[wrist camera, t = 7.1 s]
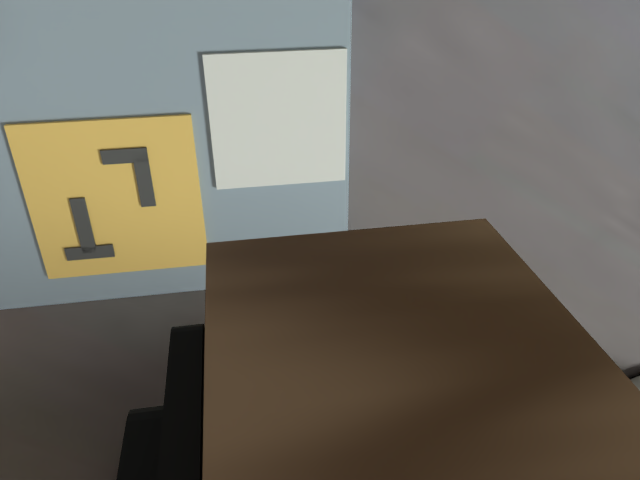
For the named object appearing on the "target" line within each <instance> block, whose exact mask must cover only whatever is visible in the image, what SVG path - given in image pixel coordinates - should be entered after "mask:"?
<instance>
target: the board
mask: <svg viewBox="0 0 640 480" xmlns="http://www.w3.org/2000/svg"><path fill="white" fill-rule="evenodd" d="M351 27H352V0H0V310H3V309H13V308H23V307H33V306H44V305H54V304H64V303H74V302H85V301H95V300H105V299H116V298H126V297H136V296H146V295H157V294H167V293H177V292H187V291H198V290H206V243H211V242H223V241H234V240H246V239H257V238H269V237H280V236H292V235H303V234H315V233H326V232H337V231H348V193H349V138H350V83H351Z"/></svg>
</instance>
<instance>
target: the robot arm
mask: <svg viewBox="0 0 640 480" xmlns="http://www.w3.org/2000/svg"><path fill="white" fill-rule="evenodd" d="M204 355H205V327H204V324H198V325H188V326H179V327H172V329H171V336H170V346H169V357H168V367H167V377H166V388H165V398H164V406H157V407H149V408H141V409H133V410H130V412H129V413H128V417H127V421H126V427H125V433H124V439H123V445H122V451H121V457H120V463H119V469H118V475H117V480H202V479H203V417H204ZM630 380H631V381H632V383H633V384H634V385H635V386H636V387H637V388H638V389H639V390H640V376H637V377H635V378H633V379H630Z"/></svg>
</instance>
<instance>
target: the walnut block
mask: <svg viewBox="0 0 640 480" xmlns="http://www.w3.org/2000/svg"><path fill="white" fill-rule="evenodd" d="M202 480H640V390H639V389H638V388H637V387H636V386H635V385H634V384H633V383H632V381H631V380H630V379H629V378H628V377H627V376H626V375H625V374H624V373H623V371H622V370H621V369H620V368H619V367H618V366H617V365H616V364H615V362H614V361H613V360H612V359H611V358H610V357H609V356H608V355H607V354H606V352H605V351H604V350H603V349H602V348H601V347H600V346H599V345H598V344H597V342H596V341H595V340H594V339H593V338H592V337H591V336H590V335H589V333H588V332H587V331H586V330H585V329H584V328H583V327H582V326H581V325H580V323H579V322H578V321H577V320H576V319H575V318H574V317H573V316H572V315H571V313H570V312H569V311H568V310H567V309H566V308H565V307H564V306H563V304H562V303H561V302H560V301H559V300H558V299H557V298H556V297H555V296H554V294H553V293H552V292H551V291H550V290H549V289H548V288H547V287H546V286H545V284H544V283H543V282H542V281H541V280H540V279H539V278H538V277H537V275H536V274H535V273H534V272H533V271H532V270H531V269H530V268H529V267H528V265H527V264H526V263H525V262H524V261H523V260H522V259H521V258H520V257H519V255H518V254H517V253H516V252H515V251H514V250H513V249H512V248H511V247H510V245H509V244H508V243H507V242H506V241H505V240H504V239H503V238H502V236H501V235H500V234H499V233H498V232H497V231H496V230H495V229H494V228H493V226H492V225H491V224H490V223H489V222H488V221H487V220H486V219H475V220H463V221H452V222H440V223H429V224H418V225H406V226H395V227H383V228H372V229H360V230H349V231H337V232H326V233H315V234H303V235H292V236H280V237H269V238H257V239H246V240H234V241H223V242H211V243H206V293H205V355H204V417H203V479H202Z"/></svg>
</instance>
